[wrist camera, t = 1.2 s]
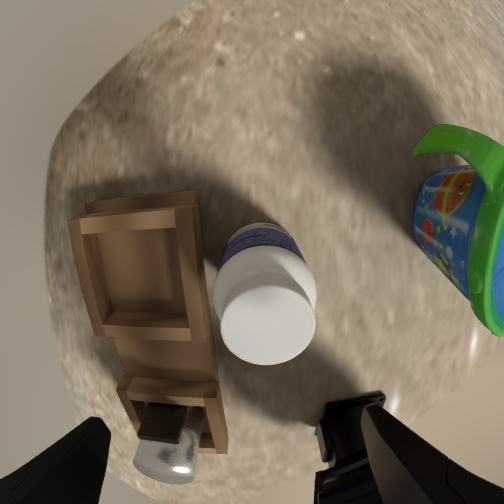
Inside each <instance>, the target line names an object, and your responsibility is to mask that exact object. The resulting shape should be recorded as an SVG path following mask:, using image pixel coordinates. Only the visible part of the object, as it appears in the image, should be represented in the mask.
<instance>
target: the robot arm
mask: <svg viewBox="0 0 504 504" xmlns="http://www.w3.org/2000/svg"><path fill="white" fill-rule="evenodd" d="M385 400H386V396H385V394H377V395H372V396H367V397H362V398H356V399H350V400H344V401H337V402H330V403H327V404H326V405H325V407H324V412H323V417H322V419H320V421H319V424H318V429H317V438H318V443H319V448H320V453H321V457H322V461H323V462H324V463H327V462H328V464H329V468H328V469H326V470H323V471H318V472H316V477H315V490H314V504H504V488H502V487H500V486H497V485H495V484H493V483H491V482H489V481H487V480H485V479H483V478H481V477H478V476H477V475H475V474H473V473H471V472H469V471H467V470H466V469H464V468H463V467H461V466H460V465H458V464H457V463H455V462H454V461H453V460H451V459H448V457H447V456H446V455H444V454H443V453H441V452H440V451H439V450H437V449H436V448H435V447H433V446H432V445H431V444H429V443H428V442H427V441H425V440H424V439H423V438H421V437H420V436H419V435H417V434H416V433H415V432H413V431H412V430H411V429H409V428H408V427H407V426H405V425H404V424H403V423H402V422H400V421H399V420H398V419H396V418H395V417H394V416H393V415H391V414H390V413H389V412H387V411H386V410H385V409H384V408H383V405H384V403H385ZM110 440H111V432H110V430H109V429H108V427H107V426H106V424H105V423H104V421H103V420H102V419H101V418H99V417H93V416H91V417H89V418H88V419H86V420H85V421H84V422H82V423H81V424H80V425H78V426H77V427H76V428H75V429H73V430H72V431H70V432H69V433H68V434H66V435H65V436H64V437H63V438H61V439H60V440H58V441H57V442H55V443H54V444H53V445H51V446H50V447H49V448H47V449H46V450H44V451H43V452H42V453H40V454H39V455H38V456H36V457H35V458H33V459H32V460H30V461H29V462H28V463H26V464H25V465H23V466H22V467H20V468H19V469H17V470H16V471H14V472H12V473H11V474H9V475H7V476H5V477H3V478H2V479H0V504H98V503H99V498H100V494H101V489H102V485H103V481H104V477H105V472H106V468H107V461H108V454H109V447H110Z"/></svg>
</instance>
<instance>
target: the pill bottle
mask: <svg viewBox="0 0 504 504" xmlns="http://www.w3.org/2000/svg"><path fill="white" fill-rule="evenodd" d="M213 302H214V307H215V311H216V313H217V315H218V317H219V319H220V331H221V335H222V338H223V341H224V343H225V344H226V346H227V347H228V349H229V350H230V351H231V352H232V353H233V354H235V355H236V356H237V357H239V358H240V359H242V360H244V361H247V362H250V363H253V364H259V365H274V364H279V363H282V362H286V361H288V360H290V359H292V358H294V357H296V356H297V355H298V354H300V353H301V352H302V351H303V350H304V349H305V348H306V347H307V346H308V344H309V343H310V341H311V339H312V337H313V334H314V331H315V314H314V308H315V304H316V284H315V280H314V277H313V275H312V273H311V271H310V269H309V267H308V265H307V263H306V262H305V260H304V258H303V256H302V254H301V252H300V250H299V248H298V246H297V244H296V242H295V241H294V239H293V238H292V236H291V235H290V234H289V233H288V232H287V231H285V230H284V229H282V228H281V227H279V226H276V225H274V224H270V223H254V224H250V225H247V226H245V227H243V228H241V229H239V230H238V231H237V232H235V233H234V234H233V235H232V236H231V238H230V239H229V241H228V242H227V244H226V246H225V249H224V252H223V255H222V259H221V262H220V265H219V268H218V272H217V275H216V278H215V282H214V287H213Z"/></svg>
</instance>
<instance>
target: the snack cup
mask: <svg viewBox="0 0 504 504" xmlns="http://www.w3.org/2000/svg"><path fill="white" fill-rule="evenodd" d="M419 154H457V155H459V156H461V157H462V158H463V159H464V160H465V161H466V162H467V163H468V164H470V165H464V166H457V167H453V168H446V169H444V170H441V171H439V172H437V173H435V174H433V175H432V176H431V177H429V178H427V179H426V180H425V181H424V183H423V185H422V189H421V191H420V193H419V196H418V199H417V201H416V204H415V209H414V222H413V225H412V226H413V231H414V234H415V236H416V238H417V240H418V244H419V246H420V248H421V249H422V251H423V252H424V253H425V254H426V256H427V257H428V258H429V259H430V260H431V261H432V262H433V263H434V264H435V266H436V267H437V268H438V269H439V270H440V271H441V272H442V273H443V274H444V275H445V276H446V277H447V278H448V279H449V280H450V281H451V282H452V283H453V284H454V285H455V286H456V288H457V289H458V290H459V291H460V292H461V293H462V294H463V295H464V296H465V297H466V298H467V299H468V300H469V301H470V302H471V307H472V309H473V311H474V313H475V315H476V317H477V318H478V319H479V321H480V322H481V323H482V324H483V325H484V326H485V327H486V328H487V329H489V330H490V331H491V332H492V334H494V335H496V336H500V337H502V336H504V147H503V146H502V145H501V144H499V143H498V142H496V141H494V140H493V139H491V138H490V137H488V136H486V135H484V134H482V133H479V132H476V131H474V130H471V129H468V128H464V127H459V126H454V125H449V124H439V125H437V126H435V127H433V128H432V129H431V130H430V131H429V132H428V133H427V134H426V135H425V136H424V137H423V138H422V139H421V140H420V142H419V143H418V144H417V145H416V146H415V148H414V149H413V151H412V155H413V156H414V157H415V156H418V155H419Z"/></svg>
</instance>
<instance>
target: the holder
mask: <svg viewBox="0 0 504 504" xmlns="http://www.w3.org/2000/svg"><path fill="white" fill-rule="evenodd" d="M85 209H86V214H84V215H81V216H78V217H76V218H73V219H70V220H68V224H69V230H70V236H71V242H72V248H73V253H74V258H75V263H76V267H77V272H78V276H79V280H80V284H81V288H82V292H83V296H84V300H85V303H86V307H87V311H88V314H89V317H90V321H91V324H92V327H93V330H94V333H95V336H105V337H113V338H114V341H115V345H116V348H117V351H118V354H119V357H120V360H121V362H122V365H123V368H124V371H125V373H126V375H124V376H123V378H122V380H121V381H120V383H119V385H118V387H117V389H116V391H117V393H118V395H119V398H120V400H121V402H122V404H123V406H124V408H125V411H126V413H127V415H128V417H129V419H130V421H131V423H132V425H133V427H134V429H135V431H136V432H137V433H138V430H139V427H140V425H141V422H142V419H143V417H144V414H145V411H146V409H147V406H148V403H149V402H153V403H163V404H174V405H188V406H200V407H201V409H202V410H203V413H204V419H203V425H202V431H201V437H200V443H199V449H198V453H213V454H227V450H228V434H227V426H226V421H225V415H224V409H223V403H222V397H221V391H220V385H219V378H218V372H217V365H216V358H215V351H214V344H213V336H212V329H211V321H210V313H209V304H208V296H207V287H206V277H205V268H204V258H203V247H202V236H201V224H200V211H199V198H198V190H190V191H178V192H167V193H156V194H146V195H137V196H128V197H120V198H112V199H104V200H97V201H92V202H89V203H86V204H85ZM140 440H141V439H140Z"/></svg>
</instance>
